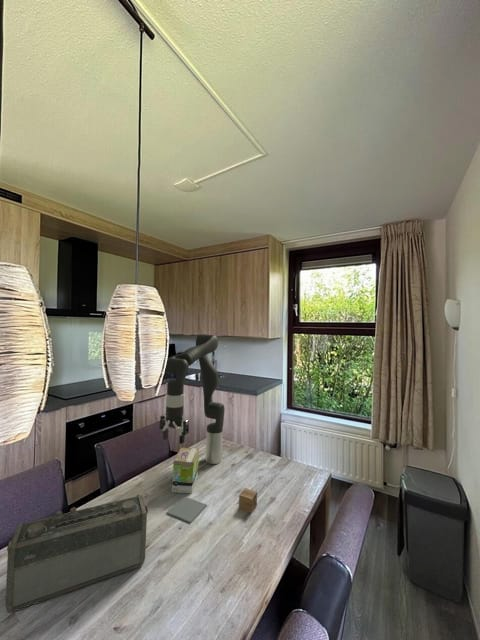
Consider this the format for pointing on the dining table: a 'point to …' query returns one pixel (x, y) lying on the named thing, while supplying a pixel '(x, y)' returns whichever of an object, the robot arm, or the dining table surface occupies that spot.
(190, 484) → the tea box
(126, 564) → the radio
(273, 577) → the dining table surface
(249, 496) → the walnut cube
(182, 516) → the coaster
